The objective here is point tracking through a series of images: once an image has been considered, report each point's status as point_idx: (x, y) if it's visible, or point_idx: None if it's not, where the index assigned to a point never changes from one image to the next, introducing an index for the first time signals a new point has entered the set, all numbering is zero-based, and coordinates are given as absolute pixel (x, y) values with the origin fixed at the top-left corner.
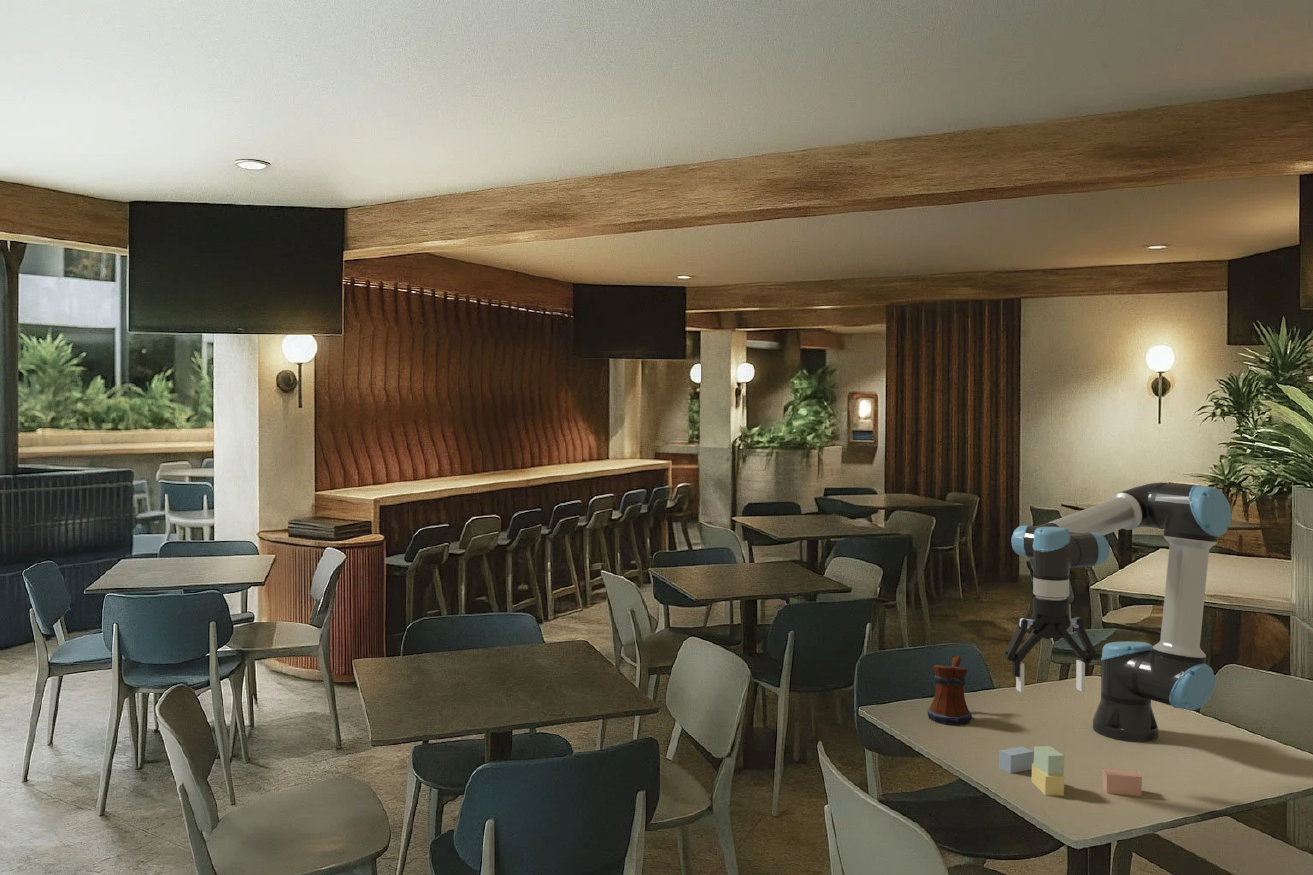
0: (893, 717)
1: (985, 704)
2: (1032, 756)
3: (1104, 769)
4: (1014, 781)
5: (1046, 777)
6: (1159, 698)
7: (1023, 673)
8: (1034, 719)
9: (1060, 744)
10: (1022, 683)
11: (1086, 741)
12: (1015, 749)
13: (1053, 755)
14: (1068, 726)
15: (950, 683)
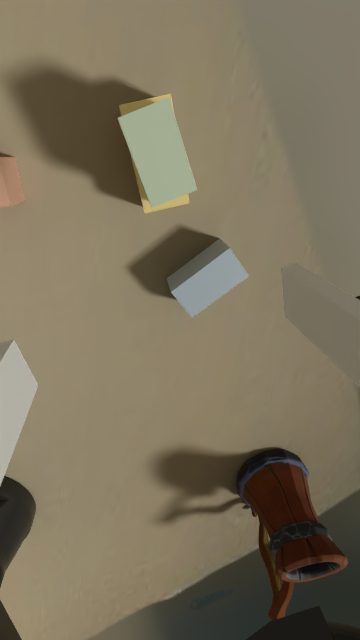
0: (355, 453)
1: (198, 542)
2: (172, 285)
3: (6, 202)
4: (220, 185)
5: (167, 95)
6: None
7: (337, 300)
8: (131, 512)
9: (98, 421)
10: (310, 279)
11: (49, 448)
12: (210, 293)
13: (151, 109)
14: (77, 501)
15: (306, 524)
